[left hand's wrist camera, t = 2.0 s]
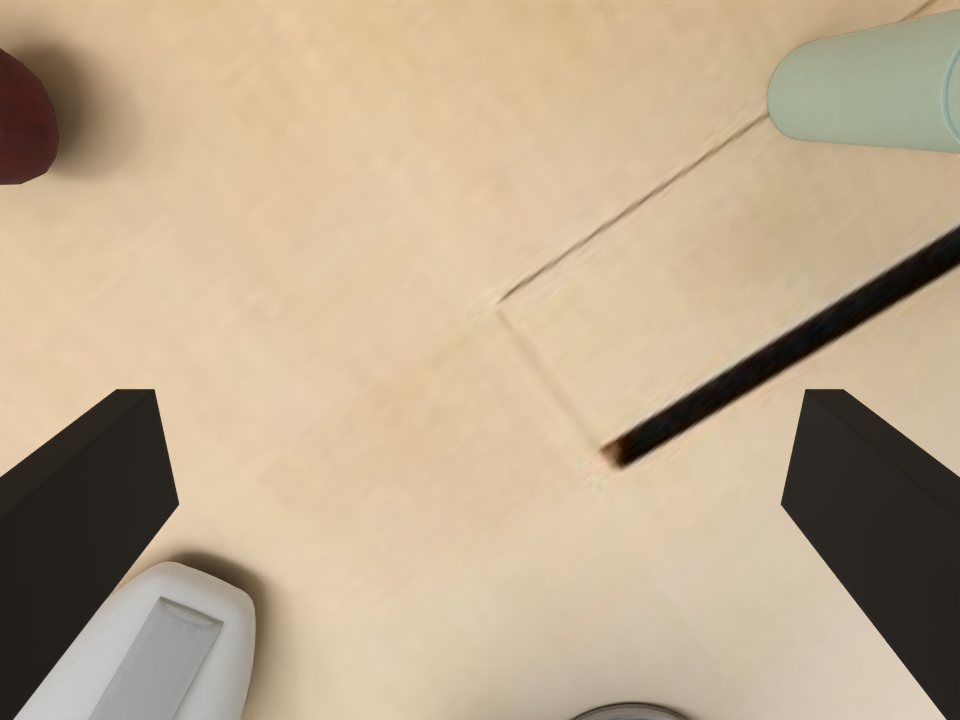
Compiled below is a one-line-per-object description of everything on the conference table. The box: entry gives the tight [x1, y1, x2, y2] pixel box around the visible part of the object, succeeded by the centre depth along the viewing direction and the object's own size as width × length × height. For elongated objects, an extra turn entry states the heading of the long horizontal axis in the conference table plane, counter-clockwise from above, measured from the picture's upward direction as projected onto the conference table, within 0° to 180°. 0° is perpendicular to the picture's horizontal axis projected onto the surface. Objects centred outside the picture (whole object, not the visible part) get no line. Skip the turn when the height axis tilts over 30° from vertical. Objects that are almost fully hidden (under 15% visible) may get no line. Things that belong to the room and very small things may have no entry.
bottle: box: [767, 9, 960, 153], centre depth 26 cm, size 5×5×21 cm
